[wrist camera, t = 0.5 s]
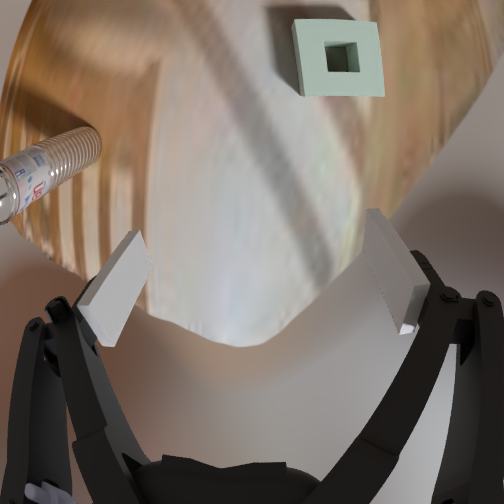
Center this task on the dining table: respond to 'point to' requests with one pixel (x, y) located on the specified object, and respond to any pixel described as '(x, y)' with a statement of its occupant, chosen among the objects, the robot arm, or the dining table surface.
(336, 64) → the dining table surface
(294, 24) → the hole block
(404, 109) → the dining table surface
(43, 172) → the water bottle
